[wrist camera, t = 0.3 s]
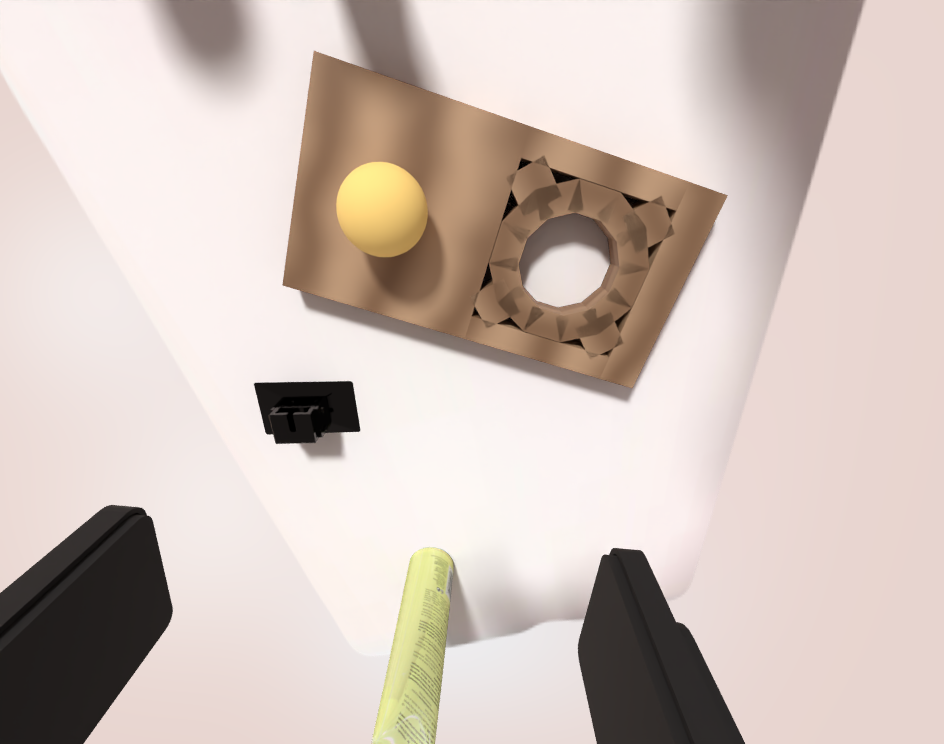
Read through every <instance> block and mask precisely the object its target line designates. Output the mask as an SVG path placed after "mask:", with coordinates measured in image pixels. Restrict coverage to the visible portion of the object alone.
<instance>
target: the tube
mask: <svg viewBox="0 0 944 744" xmlns="http://www.w3.org/2000/svg"><path fill="white" fill-rule="evenodd" d="M452 577H453V561H452V559H451V557H450V556H449V555H448V554H447V553H446V552H444V551H443V550H440V549H437V548H423V549H420V550H418V551H417V552H415V553H414V554H413V555H412V557H411V559H410V563H409V567H408V572H407V577H406V582H405V587H404V591H403V596H402V601H401V606H400V611H399V616H398V621H397V625H396V630H395V635H394V640H393V645H392V649H391V654H390V660H389V664H388V669H387V674H386V678H385V683H384V688H383V692H382V697H381V701H380V706H379V711H378V716H377V720H376V725H375V729H374V734H373V739H372V743H371V744H435V737H436V729H437V720H438V711H439V702H440V693H441V683H442V674H443V665H444V655H445V646H446V636H447V627H448V617H449V608H450V598H451V587H452Z"/></svg>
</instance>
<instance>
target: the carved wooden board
mask: <svg viewBox="0 0 944 744" xmlns="http://www.w3.org/2000/svg"><path fill="white" fill-rule="evenodd" d="M520 161H522V162H525V163H528V165H526V166H525V167H523V168H521V169H519V170H518V167H519V163H520ZM371 162H387V163H391V164H394V165H397V166H399V167H401V168H402V169H404V170H406V171H407V172H408V173H409V174H411V175H412V176H413V177H414V178H415V180H416V181H417V182H418V183H419V185H420V187H421V188H422V190H423V193H424V195H425V198H426V202H427V208H428V218H427V224H426V227H425V230H424V232H423V235H422V236H421V238H420V240H419V241H418V242H417V243H416V245H415V246H413V247H412V248H411V249H410V250H408V251H407V252H405V253H403V254H400V255H397V256H394V257H377V256H373V255H370V254H367V253H365V252H363V251H361V250H360V249H358V248H357V247H356V246H354V245H353V244H352V243H351V242H350V241H349V239H348V238H347V237H346V235H345V234H344V232H343V230H342V229H341V226H340V224H339V221H338V217H337V211H336V202H337V196H338V192H339V189H340V186H341V185H342V183H343V181H344V180H345V178H346V177H347V176H348V175H349V174H350V173H351V172H352V171H353V170H355V169H356V168H358V167H359V166H361V165H364V164H367V163H371ZM517 170H518V171H517ZM551 171H552V172H555V173H558V174H561V175H563V176H566V177H569V178H572V180H568V181H564V182H560V183H556V181H555V179H554V177H553V174H552V172H551ZM510 192H511V194H512V196H513V198H514V201H515V203H516V205H515V206H514V207H513V208H512V209H511V210H510V211H509V212H508V213H507V214H506V215H505V216H504V217H503V214H504V211H505V208H506V205H507V202H508V198H509V195H510ZM624 196H625V197H628V198H631V199H634V200H637V201H638V202H636V203H634V204H632V205H630V204H629V203H628V202H627V200H626V199H625V198H624ZM727 196H728V195H725V194H722V193H719V192H716V191H713V190H711V189H708V188H705V187H702V186H699V185H696V184H693V183H691V182H688V181H685V180H682V179H679V178H676V177H673V176H671V175H668V174H665V173H662V172H659V171H656V170H653V169H651V168H648V167H645V166H642V165H639V164H636V163H633V162H631V161H628V160H625V159H622V158H619V157H616V156H613V155H610V154H608V153H605V152H602V151H599V150H596V149H593V148H590V147H588V146H585V145H582V144H579V143H576V142H573V141H570V140H568V139H565V138H562V137H559V136H556V135H553V134H550V133H548V132H545V131H542V130H539V129H536V128H533V127H530V126H528V125H525V124H522V123H519V122H516V121H513V120H510V119H508V118H505V117H502V116H499V115H496V114H493V113H490V112H487V111H485V110H482V109H479V108H476V107H473V106H470V105H467V104H465V103H462V102H459V101H456V100H453V99H450V98H447V97H445V96H442V95H439V94H436V93H433V92H430V91H427V90H425V89H422V88H419V87H416V86H413V85H410V84H407V83H405V82H402V81H399V80H396V79H393V78H390V77H387V76H385V75H382V74H379V73H376V72H373V71H370V70H367V69H364V68H362V67H359V66H356V65H353V64H350V63H347V62H344V61H342V60H339V59H336V58H333V57H330V56H327V55H324V54H322V53H319V52H316V51H314V54H313V61H312V69H311V76H310V84H309V91H308V99H307V106H306V114H305V121H304V129H303V136H302V144H301V151H300V159H299V166H298V174H297V181H296V189H295V196H294V204H293V211H292V219H291V226H290V234H289V241H288V249H287V256H286V264H285V271H284V279H283V286H286V287H290V288H293V289H297V290H300V291H303V292H307V293H310V294H314V295H317V296H320V297H324V298H327V299H331V300H334V301H337V302H341V303H344V304H348V305H351V306H354V307H358V308H361V309H365V310H368V311H371V312H375V313H378V314H382V315H385V316H388V317H392V318H395V319H399V320H402V321H405V322H409V323H412V324H416V325H419V326H422V327H426V328H429V329H433V330H436V331H439V332H443V333H446V334H450V335H453V336H456V337H460V338H463V339H467V340H470V341H473V342H477V343H480V344H483V345H487V346H490V347H494V348H497V349H500V350H504V351H507V352H511V353H514V354H517V355H521V356H524V357H528V358H531V359H534V360H538V361H541V362H545V363H548V364H551V365H555V366H558V367H562V368H565V369H568V370H572V371H575V372H579V373H582V374H585V375H589V376H592V377H596V378H599V379H602V380H606V381H609V382H613V383H616V384H619V385H623V386H626V387H630V388H633V386H634V384H635V382H636V380H637V378H638V376H639V374H640V372H641V370H642V368H643V366H644V363H645V361H646V359H647V357H648V355H649V353H650V351H651V349H652V347H653V345H654V343H655V341H656V339H657V337H658V335H659V333H660V331H661V329H662V327H663V325H664V323H665V321H666V319H667V317H668V315H669V313H670V311H671V309H672V307H673V305H674V303H675V301H676V299H677V297H678V295H679V293H680V291H681V289H682V287H683V285H684V283H685V281H686V279H687V277H688V275H689V273H690V271H691V269H692V267H693V265H694V262H695V260H696V258H697V256H698V254H699V252H700V250H701V248H702V246H703V244H704V242H705V240H706V238H707V236H708V234H709V232H710V230H711V228H712V226H713V224H714V222H715V220H716V218H717V216H718V214H719V212H720V210H721V208H722V206H723V204H724V202H725V200H726V198H727ZM571 213H576V214H579V215H582V216H585V217H588V218H591V219H593V220H594V221H595V223H596V224H597V225H598V226H599V228H600V229H601V230H602V231H603V233H604V234H605V235H606V237H607V238H608V244H609V253H610V266H609V268H608V270H607V273H606V275H605V277H604V280H603V282H602V285H601V287H599V288H598V289H597V290H596V291H595V292H593V293H592V294H591V295H590V296H589V297H588V298H586V299H585V300H584V301H583V302H582V303H577V304H572V305H568V306H563V307H559V308H558V307H554V306H551V305H548V304H545V303H541V302H538V301H536V300H535V299H534V298H533V297H532V296H531V295H530V294H529V292H528V291H527V290H526V289H525V288H524V287H523V286H522V280H521V275H520V270H519V262H520V259H521V256H522V253H523V250H524V247H525V244H526V241H527V238H528V237H529V236H530V235H532V234H533V233H534V232H535V231H536V230H537V229H538V228H539V227H540V226H541V225H542V224H543V223H544V222H546V221H547V220H548V219H550V218H554V217H559V216H563V215H567V214H571ZM488 262H489V266H490V271H491V275H492V279H490V280H488V281H486V282H484V283H482V282H483V278H484V275H485V272H486V269H487V266H488ZM474 307H476V309H477V310H475V309H474ZM509 317H511V318H512V319H513V321H512V320H508V319H507V318H509ZM574 339H579V341H578V340H574Z"/></svg>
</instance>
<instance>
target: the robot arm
mask: <svg viewBox="0 0 944 744" xmlns="http://www.w3.org/2000/svg"><path fill="white" fill-rule="evenodd" d="M172 612H173V609H172V603H171V599H170V594H169V590H168V585H167V581H166V577H165V572H164V568H163V564H162V559H161V555H160V551H159V546H158V542H157V538H156V533H155V528H154V524H153V520H152V518H151V517H150V516H147V514H146V512H145V510H144V509H142V508H139V507H128V506H117V505H109V506H106V507H104V508H103V509H101V510H100V511H99V512H97V513H96V514H95V515H94V516H93V517H92V518H90V519H89V520H88V521H87V522H85V523H84V524H83V525H82V526H81V527H80V528H78V529H77V530H76V531H75V532H73V533H72V534H71V535H70V536H69V537H67V538H66V539H65V540H64V541H62V542H61V543H60V544H59V545H58V546H57V547H55V548H54V549H53V550H52V551H50V552H49V553H48V554H47V555H46V556H44V557H43V558H42V559H41V560H40V561H39V562H37V563H36V564H35V565H34V566H32V567H31V568H30V569H29V570H28V571H26V572H25V573H24V574H23V575H22V576H20V577H19V578H18V579H17V580H16V581H14V582H13V583H12V584H11V585H10V586H8V587H7V588H6V589H5V590H3V591H2V592H1V593H0V744H83V743H84V742H85V741H86V739H87V738H88V737H89V735H90V734H91V732H92V731H93V730H94V728H95V727H96V725H97V724H98V722H99V721H100V720H101V718H102V717H103V716H104V714H105V713H106V712H107V710H108V709H109V707H110V706H111V705H112V703H113V702H114V700H115V699H116V698H117V696H118V695H119V694H120V692H121V691H122V689H123V688H124V687H125V685H126V684H127V682H128V681H129V680H130V678H131V677H132V676H133V674H134V673H135V671H136V670H137V669H138V667H139V666H140V664H141V663H142V662H143V660H144V659H145V657H146V656H147V655H148V653H149V652H150V651H151V649H152V648H153V646H154V645H155V643H156V642H157V641H158V639H159V638H160V636H161V635H162V634H163V632H164V631H165V630H166V628H167V627H168V625H169V623H170V620H171V617H172ZM578 656H579V663H580V667H581V672H582V676H583V681H584V686H585V691H586V695H587V700H588V704H589V708H590V713H591V718H592V723H593V728H594V732H595V737H596V741H597V744H745V742H744V740H743V738H742V736H741V734H740V732H739V730H738V728H737V726H736V724H735V722H734V720H733V718H732V716H731V713H730V711H729V709H728V707H727V705H726V703H725V701H724V699H723V697H722V695H721V693H720V691H719V689H718V687H717V685H716V683H715V681H714V679H713V677H712V675H711V672H710V671H709V668H708V666H707V664H706V662H705V660H704V658H703V656H702V654H701V652H700V650H699V648H698V646H697V644H696V642H695V640H694V638H693V636H692V634H691V633H690V631H689V629H688V628H687V627H686V626H685V625H683V624H681V623H678V622H676V621H675V619H674V617H673V614H672V613H671V611H670V608H669V606H668V604H667V602H666V599H665V597H664V595H663V593H662V591H661V589H660V586H659V584H658V582H657V580H656V578H655V576H654V574H653V571H652V569H651V567H650V565H649V563H648V561H647V558H646V556H645V555H644V553H643V552H642V551H641V550H631V549H619V548H613V549H612V550H611V552H610V554H609V555H603V556H602V558H601V562H600V565H599V569H598V572H597V576H596V580H595V583H594V587H593V591H592V594H591V598H590V602H589V605H588V609H587V613H586V616H585V620H584V623H583V627H582V631H581V634H580V638H579V643H578Z"/></svg>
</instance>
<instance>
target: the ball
mask: <svg viewBox="0 0 944 744" xmlns="http://www.w3.org/2000/svg"><path fill="white" fill-rule="evenodd" d="M336 211H337V217H338V221H339V224H340V226H341V229H342V230H343V232H344V234H345V235H346V237H347V238H348V239H349V241H350V242H351V243H352V244H353V245H354V246H356V247H357V248H358V249H360V250H361V251H363V252H365V253H367V254H370V255H373V256H377V257H394V256H397V255H400V254H403V253H405V252H407V251H408V250H410V249H411V248H412V247H413V246H415V245H416V243H417V242H418V241H419V240H420V238H421V236H422V235H423V232H424V230H425V227H426V224H427V218H428V208H427V202H426V198H425V195H424V193H423V190H422V188H421V187H420V185H419V183H418V182H417V181H416V180H415V178H414V177H413V176H412V175H411V174H409V173H408V172H407V171H406V170H404V169H402V168H401V167H399V166H397V165H394V164H391V163H387V162H371V163H367V164H364V165H361V166H359V167H358V168H356V169H355V170H353V171H352V172H351V173H350V174H349V175H348V176H347V177H346V178H345V180H344V181H343V183H342V185H341V186H340V189H339V192H338V196H337V202H336Z"/></svg>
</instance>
